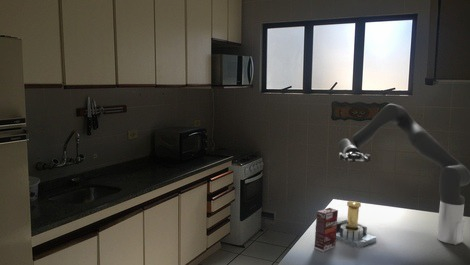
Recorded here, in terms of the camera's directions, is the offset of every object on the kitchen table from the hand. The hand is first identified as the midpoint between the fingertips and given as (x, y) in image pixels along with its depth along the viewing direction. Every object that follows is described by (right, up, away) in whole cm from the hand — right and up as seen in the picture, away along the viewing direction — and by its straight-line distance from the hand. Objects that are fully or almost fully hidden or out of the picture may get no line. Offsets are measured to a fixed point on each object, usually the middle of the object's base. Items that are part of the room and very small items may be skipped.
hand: (356, 159), depth 188 cm
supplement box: (-20, -35, -22) cm, 45 cm away
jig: (-6, -34, -12) cm, 36 cm away
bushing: (-6, -32, -12) cm, 34 cm away
